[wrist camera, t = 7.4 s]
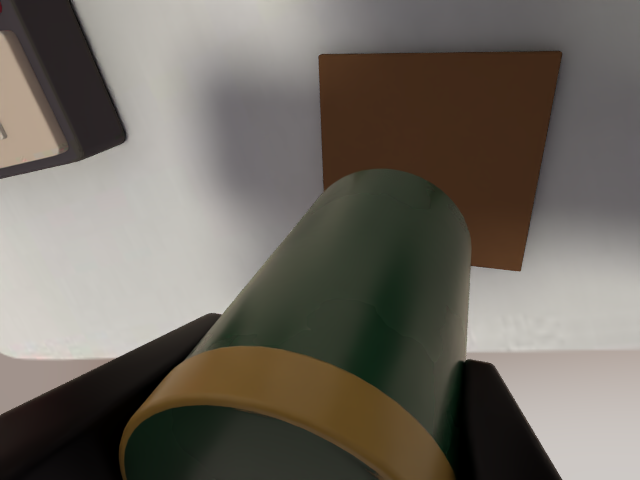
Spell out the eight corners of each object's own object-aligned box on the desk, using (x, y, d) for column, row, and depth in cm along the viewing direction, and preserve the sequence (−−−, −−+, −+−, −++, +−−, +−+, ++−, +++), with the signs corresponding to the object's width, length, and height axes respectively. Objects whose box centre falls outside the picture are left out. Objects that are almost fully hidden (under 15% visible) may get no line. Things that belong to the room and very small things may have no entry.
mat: (561, 50, 14) (562, 52, 14) (519, 267, 18) (520, 271, 18) (321, 54, 17) (318, 55, 16) (328, 245, 20) (325, 249, 20)
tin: (485, 172, 9) (487, 457, 4) (463, 327, 11) (440, 681, 5) (301, 160, 11) (75, 361, 5) (309, 303, 13) (154, 572, 7)
